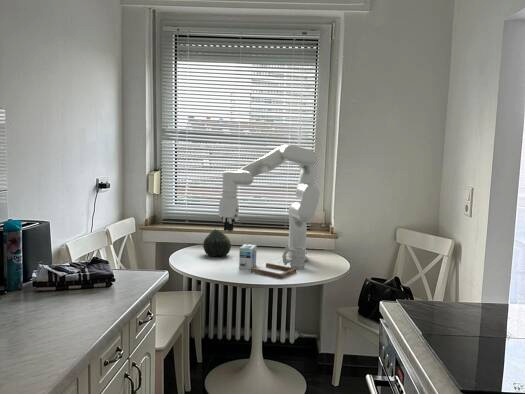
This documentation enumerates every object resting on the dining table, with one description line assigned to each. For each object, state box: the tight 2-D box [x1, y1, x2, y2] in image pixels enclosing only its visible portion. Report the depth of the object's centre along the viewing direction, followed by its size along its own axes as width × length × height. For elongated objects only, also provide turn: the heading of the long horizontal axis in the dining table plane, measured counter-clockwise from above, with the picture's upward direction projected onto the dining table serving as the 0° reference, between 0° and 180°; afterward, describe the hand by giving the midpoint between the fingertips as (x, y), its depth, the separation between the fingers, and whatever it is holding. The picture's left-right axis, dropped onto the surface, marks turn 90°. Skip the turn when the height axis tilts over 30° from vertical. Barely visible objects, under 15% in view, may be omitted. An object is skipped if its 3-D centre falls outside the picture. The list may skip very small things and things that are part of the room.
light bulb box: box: [238, 243, 258, 271], centre depth 227 cm, size 11×7×11 cm, turn 168°
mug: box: [281, 243, 306, 270], centre depth 229 cm, size 8×12×12 cm, turn 94°
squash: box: [202, 228, 232, 258], centre depth 250 cm, size 14×15×15 cm
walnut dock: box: [250, 262, 298, 280], centre depth 219 cm, size 14×17×2 cm
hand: (228, 230), depth 233 cm, fingers closed
